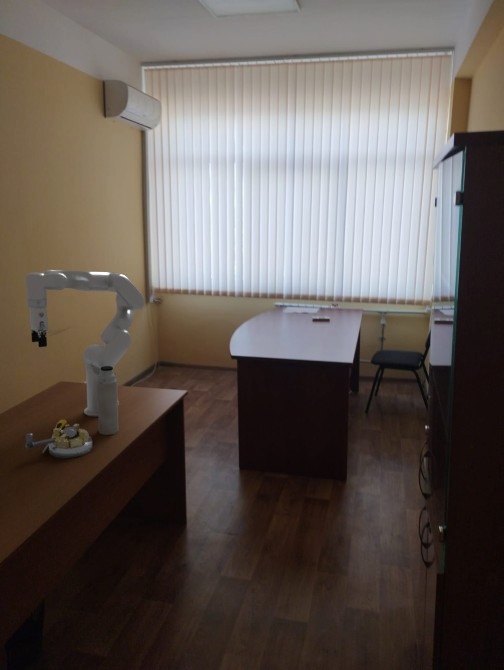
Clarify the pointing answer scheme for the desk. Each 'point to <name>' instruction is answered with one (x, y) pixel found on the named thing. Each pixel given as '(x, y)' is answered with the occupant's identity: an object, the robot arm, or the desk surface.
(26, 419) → the desk surface
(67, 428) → the plate with blocky chunks
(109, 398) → the thermos bottle
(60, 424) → the screwdriver
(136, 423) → the desk surface
